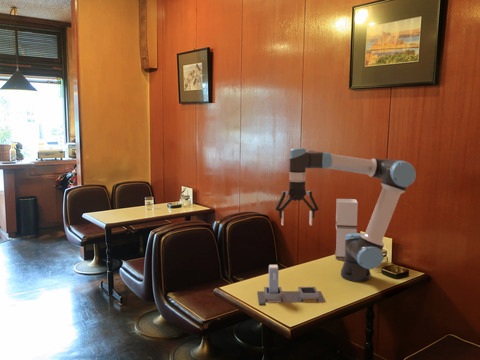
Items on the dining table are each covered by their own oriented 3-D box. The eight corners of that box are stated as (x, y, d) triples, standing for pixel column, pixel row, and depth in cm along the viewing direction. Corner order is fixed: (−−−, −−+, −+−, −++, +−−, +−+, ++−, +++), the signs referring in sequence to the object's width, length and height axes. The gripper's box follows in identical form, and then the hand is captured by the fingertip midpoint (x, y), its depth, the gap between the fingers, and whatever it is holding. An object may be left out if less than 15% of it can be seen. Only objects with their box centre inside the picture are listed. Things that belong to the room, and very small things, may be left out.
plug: (277, 294, 179) (277, 264, 177) (278, 300, 173) (278, 268, 172) (268, 294, 179) (268, 264, 177) (269, 300, 173) (269, 269, 172)
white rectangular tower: (353, 255, 239) (355, 199, 235) (355, 260, 229) (357, 202, 224) (334, 254, 241) (336, 198, 237) (335, 259, 231) (337, 201, 227)
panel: (320, 293, 183) (320, 285, 183) (326, 304, 171) (326, 295, 171) (257, 293, 183) (257, 285, 183) (258, 304, 171) (258, 296, 171)
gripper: (321, 179, 186) (320, 222, 189) (270, 180, 186) (269, 223, 189) (325, 181, 179) (324, 226, 182) (271, 182, 179) (271, 226, 181)
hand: (296, 224), depth 185 cm, fingers open, 13 cm apart
